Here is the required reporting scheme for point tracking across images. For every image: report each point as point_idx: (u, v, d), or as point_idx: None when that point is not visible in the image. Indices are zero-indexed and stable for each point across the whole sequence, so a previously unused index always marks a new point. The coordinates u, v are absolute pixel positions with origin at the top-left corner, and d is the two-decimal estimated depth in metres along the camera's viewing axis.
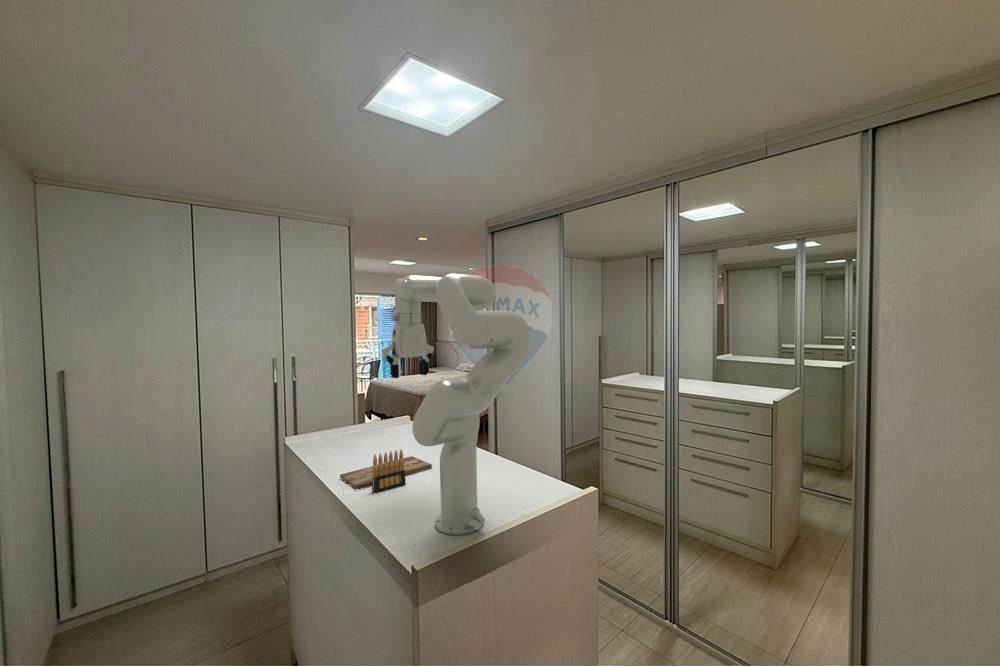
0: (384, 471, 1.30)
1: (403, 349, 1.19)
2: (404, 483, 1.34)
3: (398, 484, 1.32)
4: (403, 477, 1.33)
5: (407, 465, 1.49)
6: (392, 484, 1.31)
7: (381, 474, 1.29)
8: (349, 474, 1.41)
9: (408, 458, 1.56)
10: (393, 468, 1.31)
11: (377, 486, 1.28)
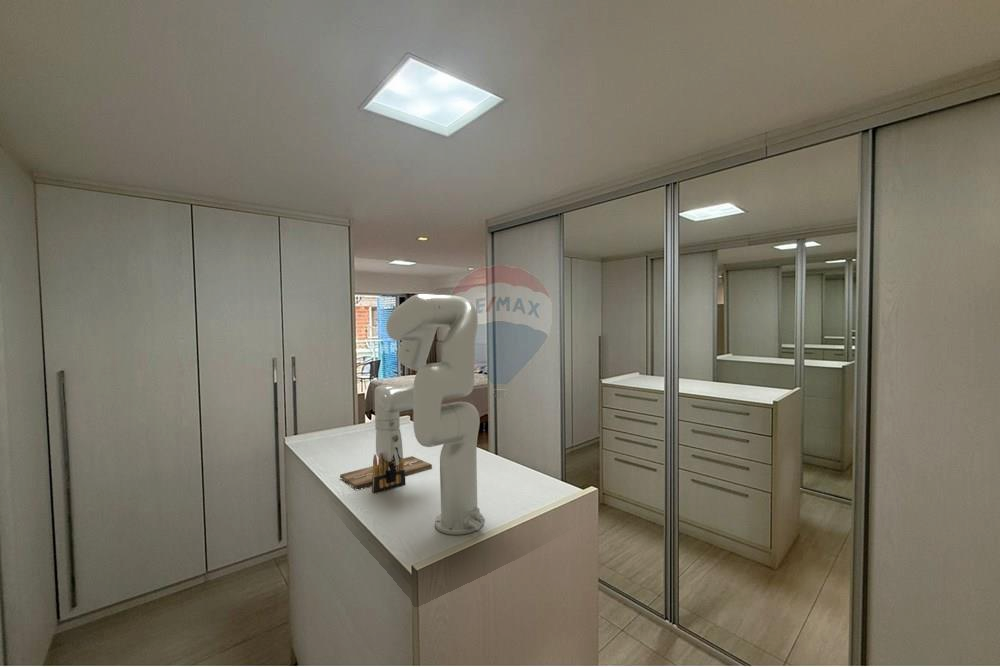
0: (384, 471, 1.30)
1: None
2: (404, 483, 1.34)
3: (398, 484, 1.32)
4: (403, 477, 1.33)
5: (407, 465, 1.49)
6: (392, 484, 1.31)
7: (381, 474, 1.29)
8: (349, 474, 1.41)
9: (408, 458, 1.56)
10: None
11: (377, 485, 1.28)
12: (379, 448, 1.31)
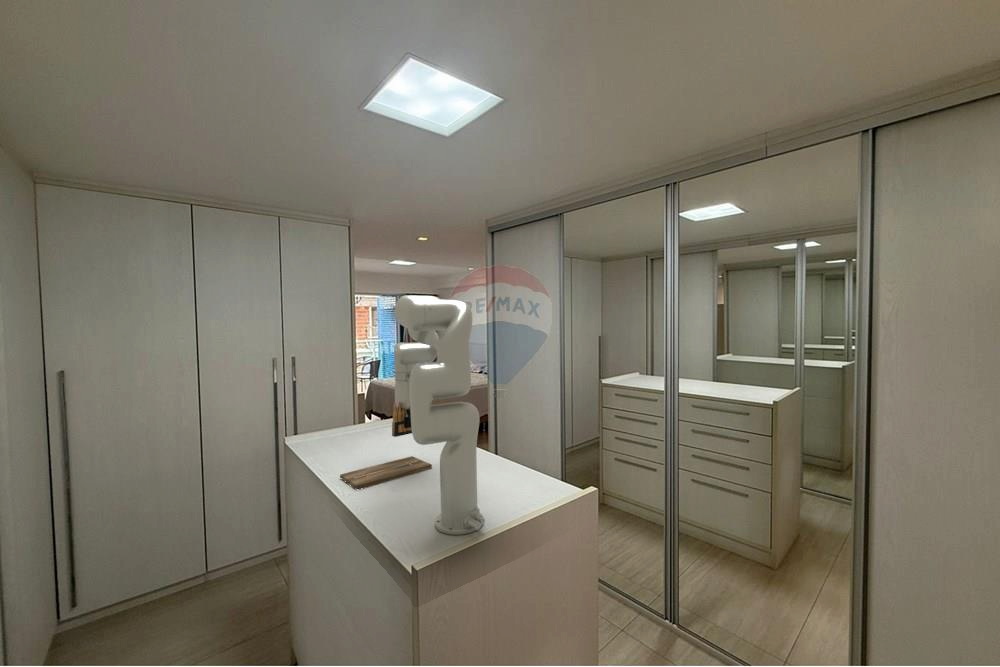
0: (402, 418, 1.48)
1: None
2: None
3: None
4: None
5: (407, 465, 1.49)
6: (409, 429, 1.49)
7: (400, 420, 1.47)
8: (349, 474, 1.41)
9: (408, 458, 1.56)
10: None
11: (397, 430, 1.46)
12: (397, 397, 1.49)
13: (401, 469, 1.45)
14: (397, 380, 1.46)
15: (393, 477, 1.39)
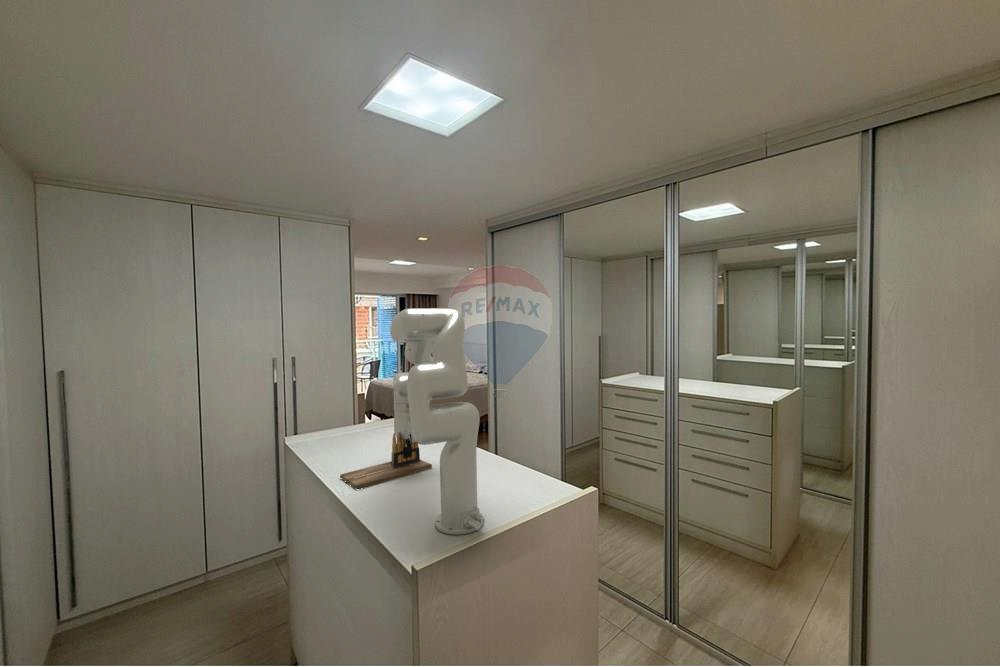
0: (402, 448, 1.48)
1: None
2: (418, 459, 1.52)
3: (413, 459, 1.51)
4: (418, 453, 1.52)
5: (407, 465, 1.49)
6: (408, 459, 1.49)
7: (399, 450, 1.47)
8: (349, 474, 1.41)
9: None
10: None
11: (396, 460, 1.46)
12: (397, 427, 1.49)
13: (401, 469, 1.45)
14: (396, 410, 1.46)
15: (393, 477, 1.39)
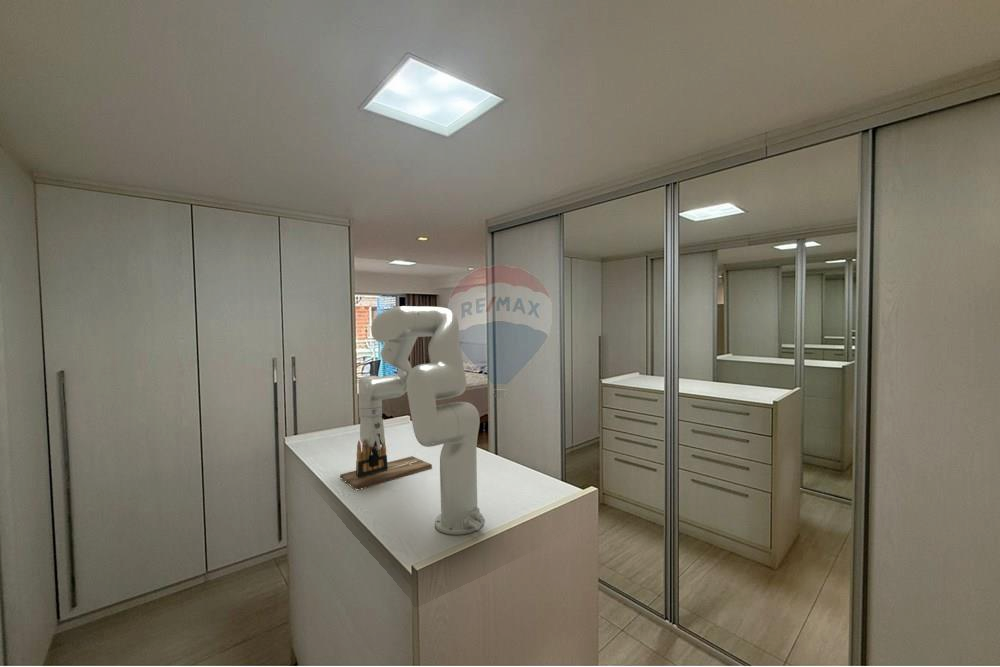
0: (367, 456, 1.39)
1: None
2: (386, 467, 1.43)
3: (381, 468, 1.42)
4: (385, 462, 1.43)
5: (407, 465, 1.49)
6: (375, 468, 1.41)
7: (365, 459, 1.38)
8: (349, 474, 1.41)
9: (408, 458, 1.56)
10: None
11: (361, 469, 1.37)
12: (362, 434, 1.40)
13: (401, 469, 1.45)
14: (361, 416, 1.38)
15: (393, 477, 1.39)
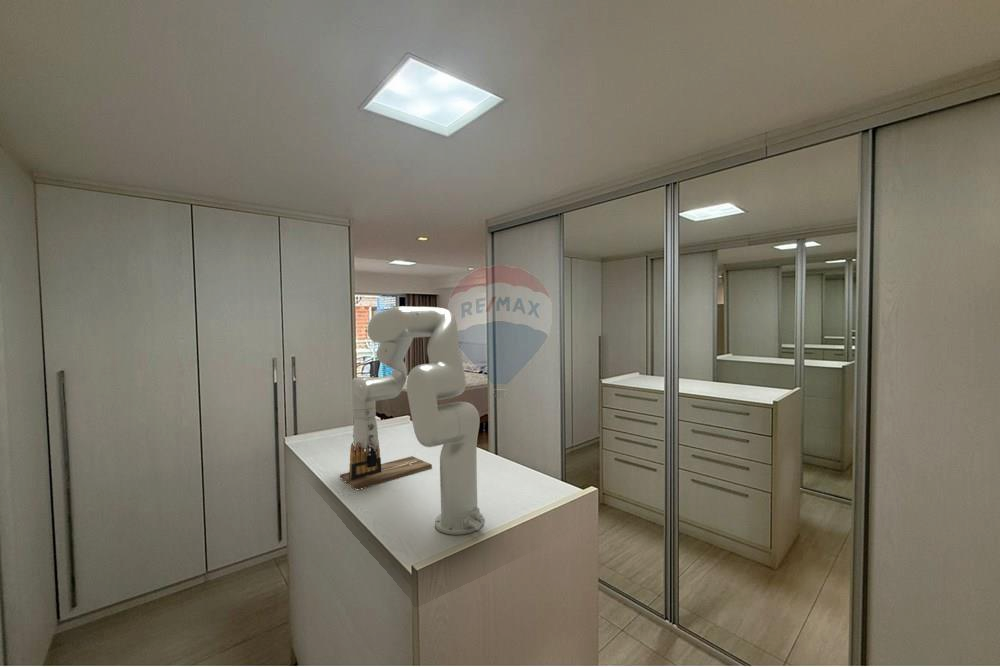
0: (361, 458, 1.38)
1: None
2: (380, 470, 1.42)
3: (374, 471, 1.41)
4: (379, 464, 1.42)
5: (407, 465, 1.49)
6: (368, 471, 1.39)
7: (358, 461, 1.37)
8: None
9: (408, 458, 1.56)
10: None
11: (354, 472, 1.36)
12: (356, 436, 1.39)
13: (401, 469, 1.45)
14: (354, 418, 1.36)
15: (393, 477, 1.39)
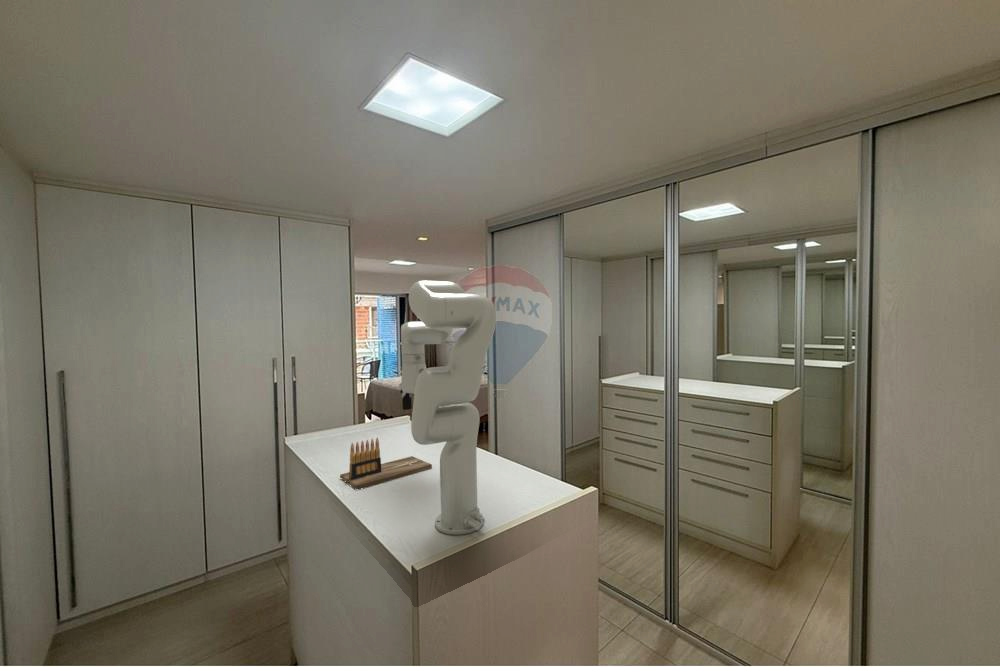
0: (361, 458, 1.38)
1: None
2: (380, 470, 1.42)
3: (374, 471, 1.41)
4: (379, 464, 1.42)
5: (407, 465, 1.49)
6: (368, 471, 1.39)
7: (358, 461, 1.37)
8: None
9: (408, 458, 1.56)
10: (369, 455, 1.39)
11: (354, 472, 1.36)
12: (405, 383, 1.37)
13: (401, 469, 1.45)
14: (405, 363, 1.34)
15: (393, 477, 1.39)
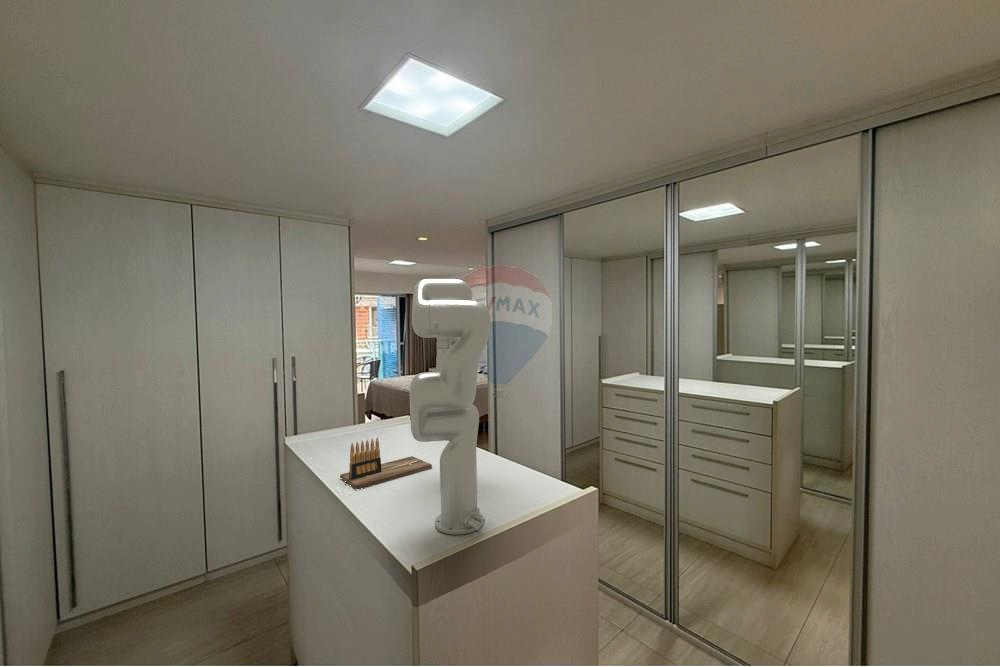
0: (361, 458, 1.38)
1: None
2: (380, 470, 1.42)
3: (374, 471, 1.41)
4: (379, 464, 1.42)
5: (407, 465, 1.49)
6: (368, 471, 1.39)
7: (358, 461, 1.37)
8: None
9: (408, 458, 1.56)
10: (369, 455, 1.39)
11: (354, 472, 1.36)
12: (440, 368, 1.36)
13: (401, 469, 1.45)
14: (440, 348, 1.33)
15: (393, 477, 1.39)
